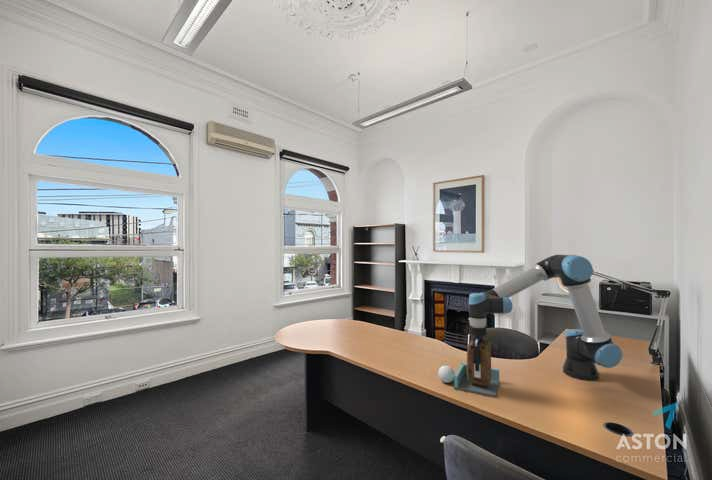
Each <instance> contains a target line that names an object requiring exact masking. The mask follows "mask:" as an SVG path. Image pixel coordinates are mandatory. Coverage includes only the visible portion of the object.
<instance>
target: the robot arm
mask: <svg viewBox="0 0 712 480" xmlns="http://www.w3.org/2000/svg"><path fill="white" fill-rule="evenodd" d="M593 273H594V269H593V265H592V263H591V261H590V260H588V258H586V257H584V256H580V255H576V254H571V255H570V254H553V255H550V256H548V257H546V258H544V259H542V260H541V261H539V262H536V263H535V264H534V265H533V267H532V268H530V269H528V270H526V271H524V272H522V273H520V274H518V275H517V276H515V277H512V278H511V279H509V280H508V281H506V282H503V283H501V284H500V285H498V286H496V287H494V288H492V289H490V290H488V291H487V292H486V291H482V292H472V293H470V294H469V297H468V308H469V309H468V313H469V315H468V316H469V318H468V319H467V320H468V321H469V334H470V335H472V336H474V337H473V338H472V340H473V362H472V363H474V377H477V378H481V364H480V349H479V344H480V343H482V341H483V340H484V338H483V337H485V336H486V335H487V314H488V315H489V314H503V315H504V314H511V312H512V311H513V301H512V300H511V297H513V296H515V295H517V294H518V293H520V292H522V291H524V290H527V289H528V288H531V287H532V286H534V285H536V284H537V283H540V282H541V281H542V282H543V281H544V282H546V281H548V280H550V279H554V278H555V279H556V278H559V280H560V282H561V285H562V286H563V287H564V288H566V289H567V292H568V294H569V297H570V299H571V303H572V306H573V309H574V312H575V314H576V316H577V320H578V322H579V325H580V328H572V329H567V330H566V331H565V342H566V343H565V347H566V348H565V349H566V358H565V361H564V363H563V366H562V373H563V374H565V375H567V376H569V377H570V378H573V379H576V380H582V381H598V380H599V378H600V373H599V371H598V368H597V366H600V367H603V368H607V369H611V368H614V367H617V366H618V365H619V364H620V363H621V361H622V359H623V354H624V353H623V350H622V348H621V347H620V346H619V345H617V344H615V343H614V342H613V339H612V336H611V335H610V333H608V332H606V331H605V328H604V326H603V322H602V319H601V317H600V314H599V311H598V308H597V306H596V303H595V300H594V299H595V298H594V297H593V294H592V290H591V287H590V286H589V284H590V283H591V282H592V279H591V277H592V276H593V275H592V274H593ZM596 365H597V366H596Z"/></svg>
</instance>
